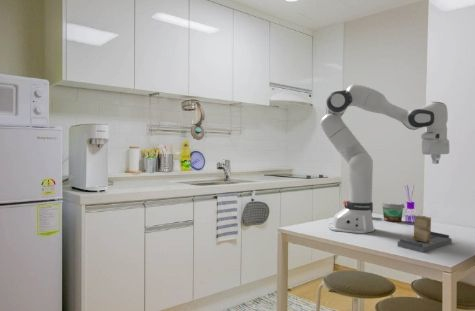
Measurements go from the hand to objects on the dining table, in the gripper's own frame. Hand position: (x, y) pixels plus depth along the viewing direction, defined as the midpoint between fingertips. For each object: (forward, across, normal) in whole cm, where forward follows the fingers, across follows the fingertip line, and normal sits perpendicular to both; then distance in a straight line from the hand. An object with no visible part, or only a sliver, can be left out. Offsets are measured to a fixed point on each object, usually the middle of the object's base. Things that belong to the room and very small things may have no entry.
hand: (435, 163), depth 182 cm
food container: (+34, -6, -25) cm, 43 cm away
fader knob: (+32, +27, +8) cm, 42 cm away
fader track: (+34, +24, +8) cm, 43 cm away
